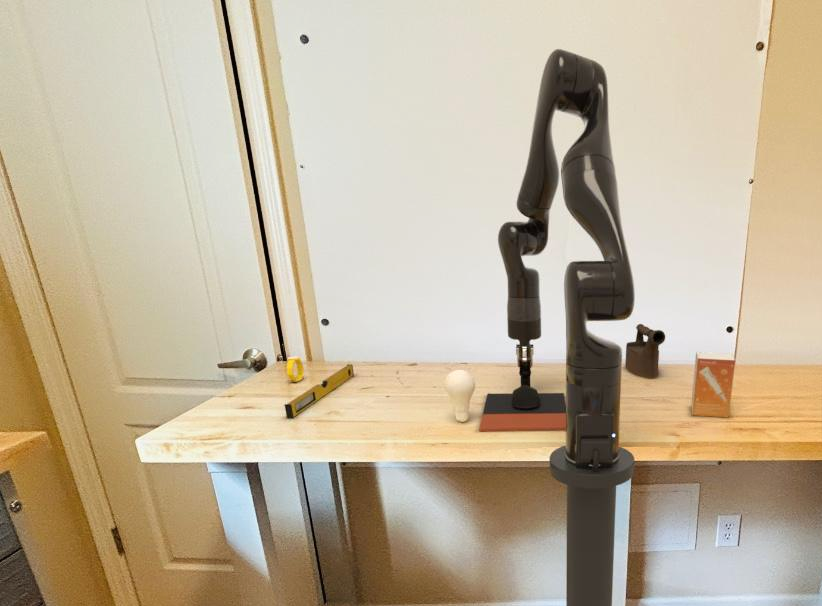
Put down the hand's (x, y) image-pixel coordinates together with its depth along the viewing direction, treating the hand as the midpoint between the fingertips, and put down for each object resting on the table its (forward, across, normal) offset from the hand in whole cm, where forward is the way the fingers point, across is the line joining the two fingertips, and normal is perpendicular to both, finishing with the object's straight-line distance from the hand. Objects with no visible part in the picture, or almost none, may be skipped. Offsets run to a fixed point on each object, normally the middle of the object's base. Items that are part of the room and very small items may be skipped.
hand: (525, 390), depth 142 cm
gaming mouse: (+1, -5, 0) cm, 5 cm away
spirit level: (+2, +3, +47) cm, 47 cm away
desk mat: (+2, -11, 0) cm, 11 cm away
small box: (+2, -13, -41) cm, 43 cm away
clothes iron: (+2, +21, -32) cm, 39 cm away
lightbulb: (+2, -17, +13) cm, 21 cm away
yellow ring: (+2, +15, +57) cm, 59 cm away
